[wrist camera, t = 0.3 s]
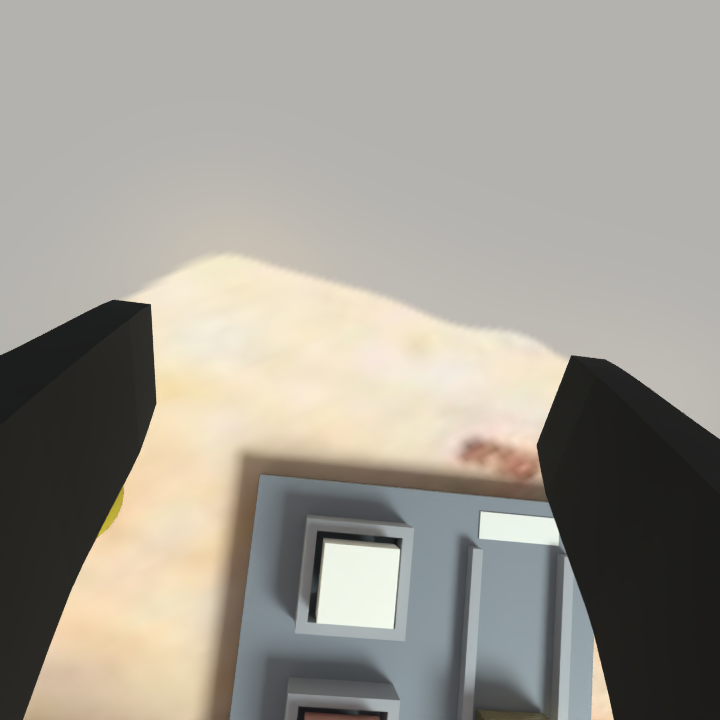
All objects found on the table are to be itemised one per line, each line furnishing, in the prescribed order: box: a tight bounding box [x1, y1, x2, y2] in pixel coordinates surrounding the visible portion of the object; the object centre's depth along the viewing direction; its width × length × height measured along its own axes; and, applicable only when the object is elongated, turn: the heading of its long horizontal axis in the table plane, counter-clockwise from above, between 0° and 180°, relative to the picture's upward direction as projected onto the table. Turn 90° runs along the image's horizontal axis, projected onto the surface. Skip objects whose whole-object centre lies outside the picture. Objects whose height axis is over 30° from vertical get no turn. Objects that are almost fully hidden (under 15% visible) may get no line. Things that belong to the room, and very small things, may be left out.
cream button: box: [315, 538, 400, 629], centre depth 32 cm, size 4×4×2 cm
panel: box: [230, 474, 594, 720], centre depth 35 cm, size 18×21×4 cm
